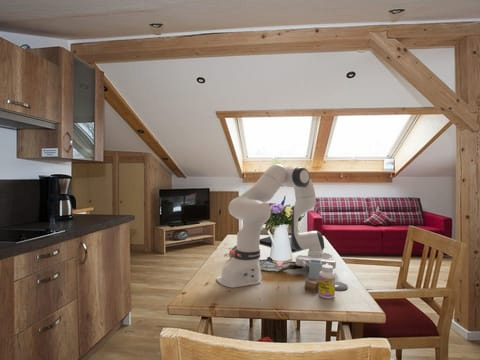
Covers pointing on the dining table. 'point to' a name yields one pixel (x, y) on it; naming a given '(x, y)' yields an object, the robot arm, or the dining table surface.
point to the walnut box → (312, 285)
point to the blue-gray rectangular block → (315, 268)
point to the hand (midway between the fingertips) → (315, 266)
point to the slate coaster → (340, 286)
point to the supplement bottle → (327, 282)
